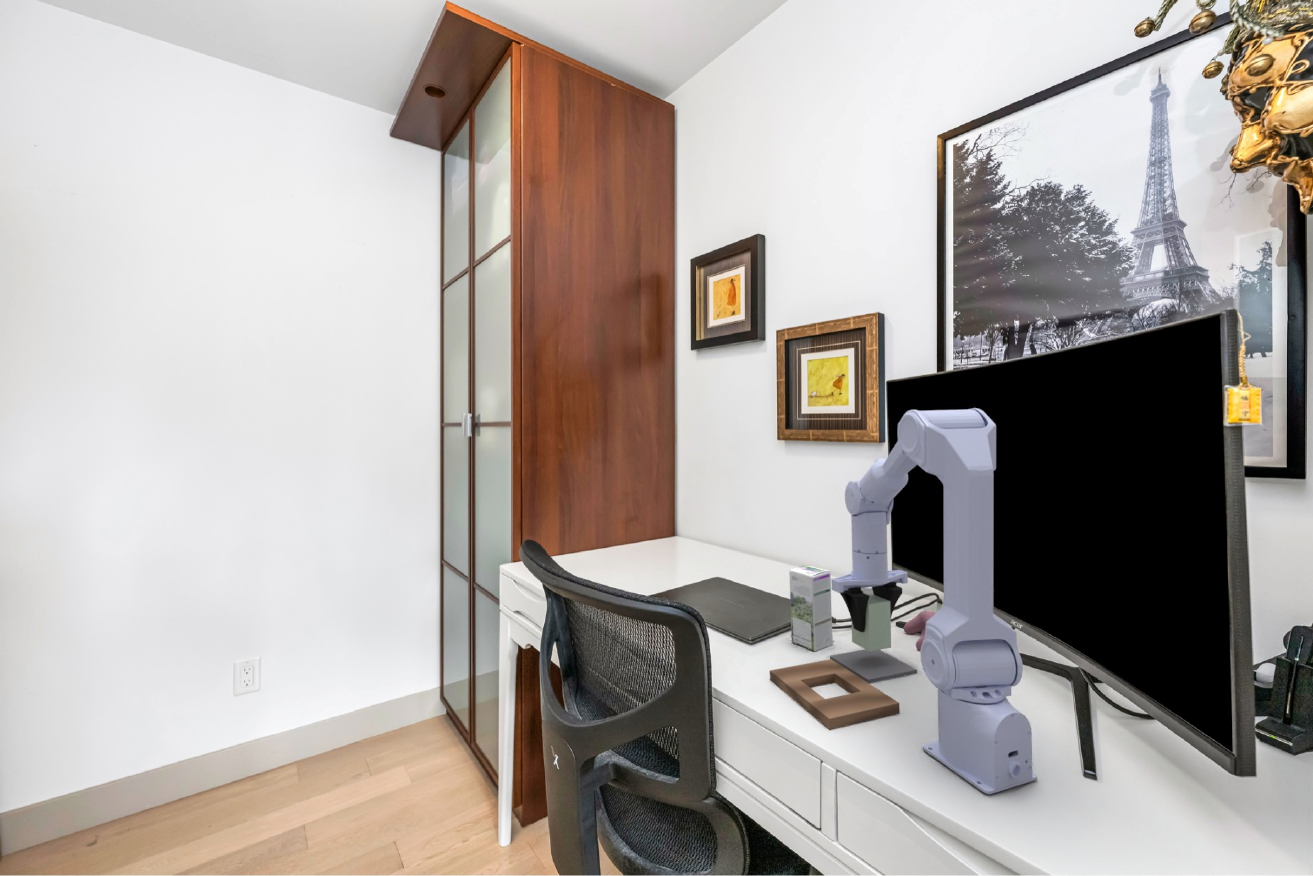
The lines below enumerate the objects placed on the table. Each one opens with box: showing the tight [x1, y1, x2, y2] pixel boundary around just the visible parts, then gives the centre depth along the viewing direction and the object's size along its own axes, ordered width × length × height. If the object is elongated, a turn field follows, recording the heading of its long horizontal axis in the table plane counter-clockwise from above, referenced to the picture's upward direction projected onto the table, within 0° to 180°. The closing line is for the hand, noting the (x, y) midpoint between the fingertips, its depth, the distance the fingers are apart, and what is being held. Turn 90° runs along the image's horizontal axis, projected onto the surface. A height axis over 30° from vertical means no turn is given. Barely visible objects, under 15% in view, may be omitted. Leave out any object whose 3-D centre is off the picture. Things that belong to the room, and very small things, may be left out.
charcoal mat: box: [829, 648, 918, 684], centre depth 93 cm, size 10×10×1 cm
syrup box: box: [788, 565, 834, 652], centre depth 103 cm, size 6×6×14 cm
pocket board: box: [769, 658, 901, 731], centre depth 83 cm, size 16×12×2 cm
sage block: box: [851, 594, 892, 652], centre depth 93 cm, size 4×4×8 cm
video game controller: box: [903, 608, 937, 651], centre depth 102 cm, size 10×5×7 cm, turn 169°
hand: (871, 628), depth 93 cm, fingers closed on sage block, 4 cm apart
